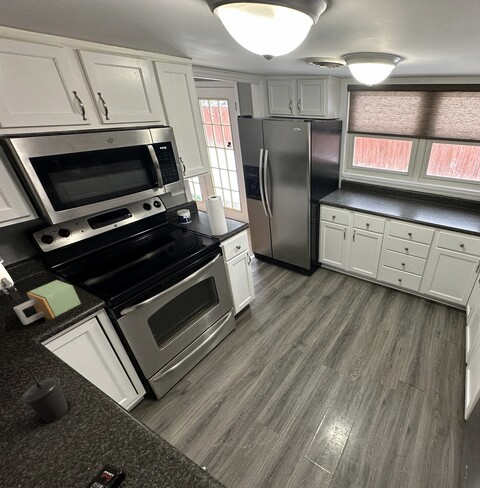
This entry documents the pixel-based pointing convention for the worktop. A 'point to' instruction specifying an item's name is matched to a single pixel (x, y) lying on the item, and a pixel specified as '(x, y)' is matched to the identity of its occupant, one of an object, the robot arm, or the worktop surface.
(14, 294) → the robot arm
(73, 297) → the cupboard
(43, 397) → the drinking cup
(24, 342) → the worktop surface
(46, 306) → the door
